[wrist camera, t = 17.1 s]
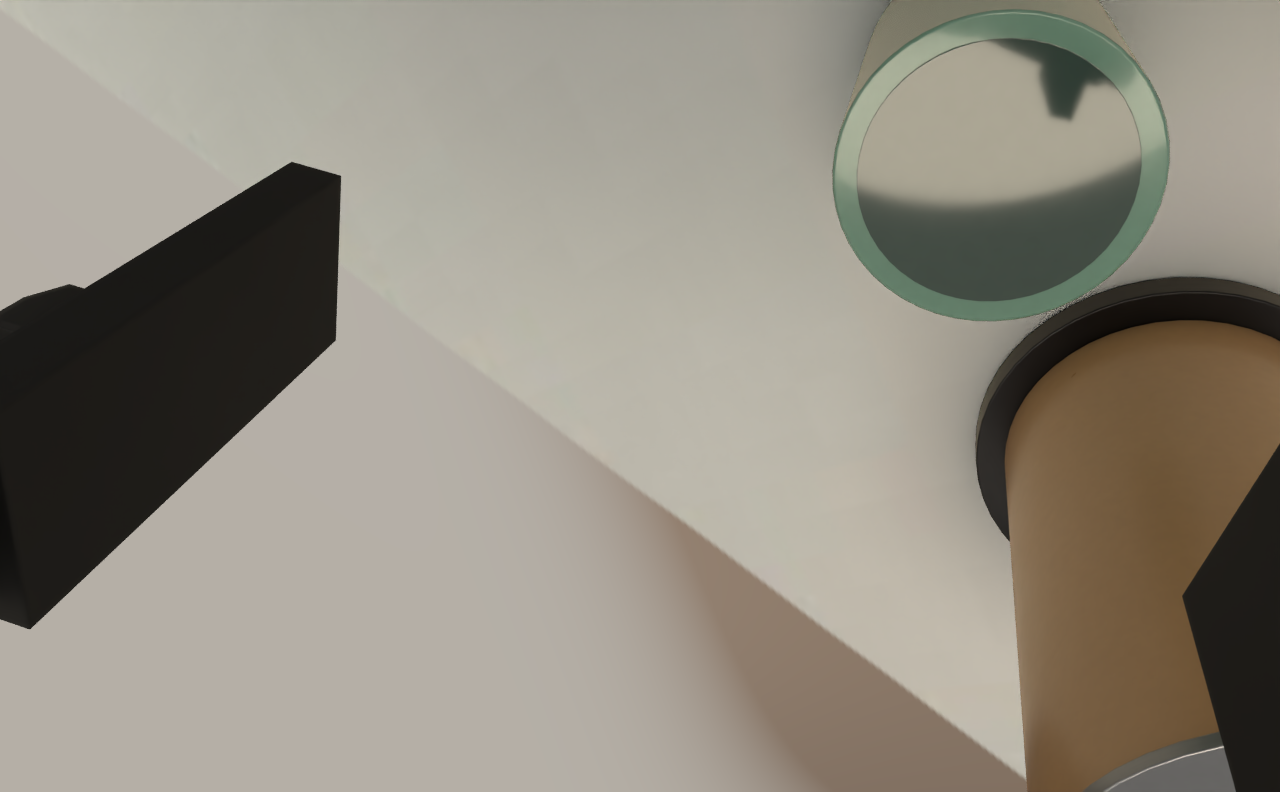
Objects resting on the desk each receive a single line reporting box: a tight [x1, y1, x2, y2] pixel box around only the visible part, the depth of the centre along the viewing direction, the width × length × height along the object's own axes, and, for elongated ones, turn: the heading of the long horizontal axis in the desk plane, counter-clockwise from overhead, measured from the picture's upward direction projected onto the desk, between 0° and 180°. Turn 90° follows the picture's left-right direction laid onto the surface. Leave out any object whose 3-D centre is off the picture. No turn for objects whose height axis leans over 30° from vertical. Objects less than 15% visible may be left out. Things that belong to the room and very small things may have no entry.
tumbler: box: [832, 0, 1170, 321], centre depth 30 cm, size 8×8×10 cm
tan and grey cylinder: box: [976, 278, 1280, 792], centre depth 30 cm, size 13×13×20 cm
